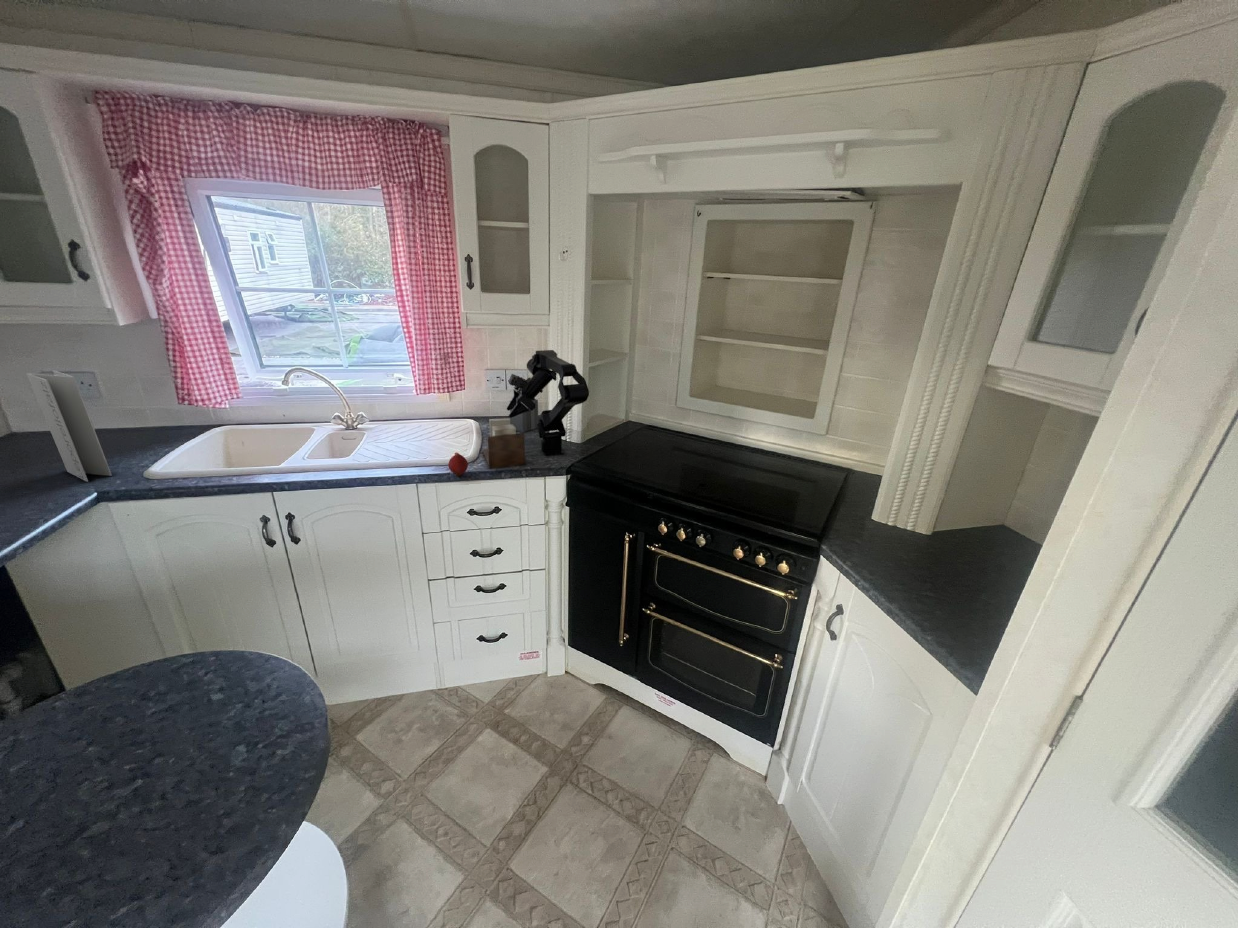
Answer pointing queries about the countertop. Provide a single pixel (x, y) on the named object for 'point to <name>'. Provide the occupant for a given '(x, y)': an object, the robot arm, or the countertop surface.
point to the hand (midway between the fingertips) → (508, 413)
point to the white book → (498, 423)
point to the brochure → (69, 424)
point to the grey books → (526, 419)
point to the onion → (458, 464)
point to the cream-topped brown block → (505, 447)
